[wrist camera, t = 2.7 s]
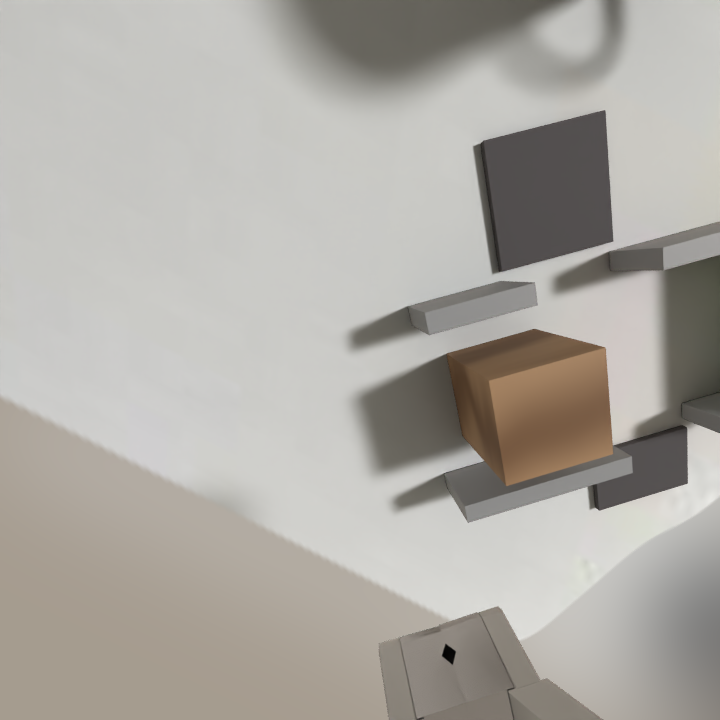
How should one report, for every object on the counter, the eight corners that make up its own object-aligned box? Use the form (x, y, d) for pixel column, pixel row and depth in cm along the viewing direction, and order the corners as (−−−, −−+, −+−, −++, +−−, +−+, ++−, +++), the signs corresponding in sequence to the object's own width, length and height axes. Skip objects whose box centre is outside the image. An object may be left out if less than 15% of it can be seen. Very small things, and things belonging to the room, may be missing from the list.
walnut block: (445, 353, 19) (488, 380, 14) (533, 328, 19) (605, 347, 14) (461, 435, 20) (506, 486, 15) (543, 411, 20) (613, 454, 16)
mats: (480, 143, 17) (483, 141, 16) (678, 93, 17) (684, 90, 17) (536, 525, 22) (538, 528, 22) (682, 480, 23) (687, 483, 22)
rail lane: (407, 306, 18) (431, 315, 14) (757, 211, 19) (870, 195, 15) (447, 488, 21) (476, 537, 17) (749, 397, 22) (842, 425, 18)
